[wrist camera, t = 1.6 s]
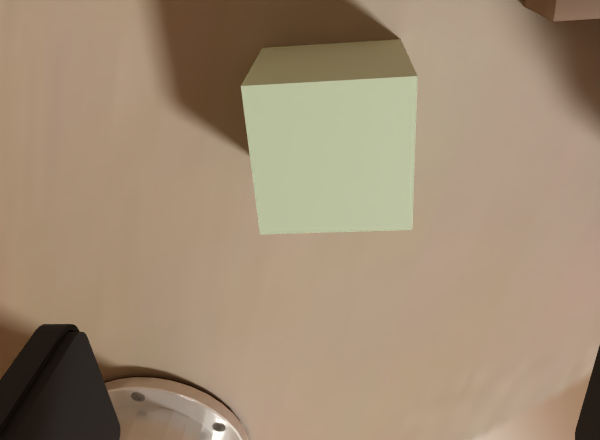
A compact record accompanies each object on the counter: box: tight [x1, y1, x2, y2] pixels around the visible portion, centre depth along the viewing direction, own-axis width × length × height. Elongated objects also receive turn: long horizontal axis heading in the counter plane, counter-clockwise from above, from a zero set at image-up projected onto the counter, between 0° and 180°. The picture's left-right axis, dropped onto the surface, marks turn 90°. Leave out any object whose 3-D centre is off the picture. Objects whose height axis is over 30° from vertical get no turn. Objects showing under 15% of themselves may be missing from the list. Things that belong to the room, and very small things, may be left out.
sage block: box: [241, 39, 417, 234], centre depth 22 cm, size 6×6×6 cm
